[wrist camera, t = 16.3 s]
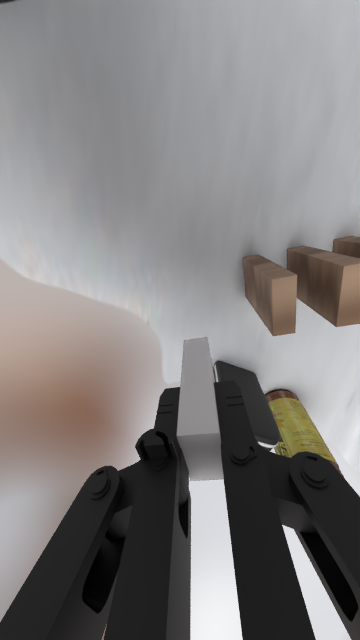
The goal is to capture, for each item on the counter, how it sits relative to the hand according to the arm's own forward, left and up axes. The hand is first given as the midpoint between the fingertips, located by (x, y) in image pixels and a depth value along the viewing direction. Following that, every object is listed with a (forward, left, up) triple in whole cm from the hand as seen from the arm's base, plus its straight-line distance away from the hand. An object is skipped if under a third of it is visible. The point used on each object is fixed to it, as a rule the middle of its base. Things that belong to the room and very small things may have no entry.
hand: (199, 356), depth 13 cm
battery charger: (+15, +3, -15) cm, 21 cm away
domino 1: (0, +7, -15) cm, 16 cm away
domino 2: (0, +12, -15) cm, 19 cm away
